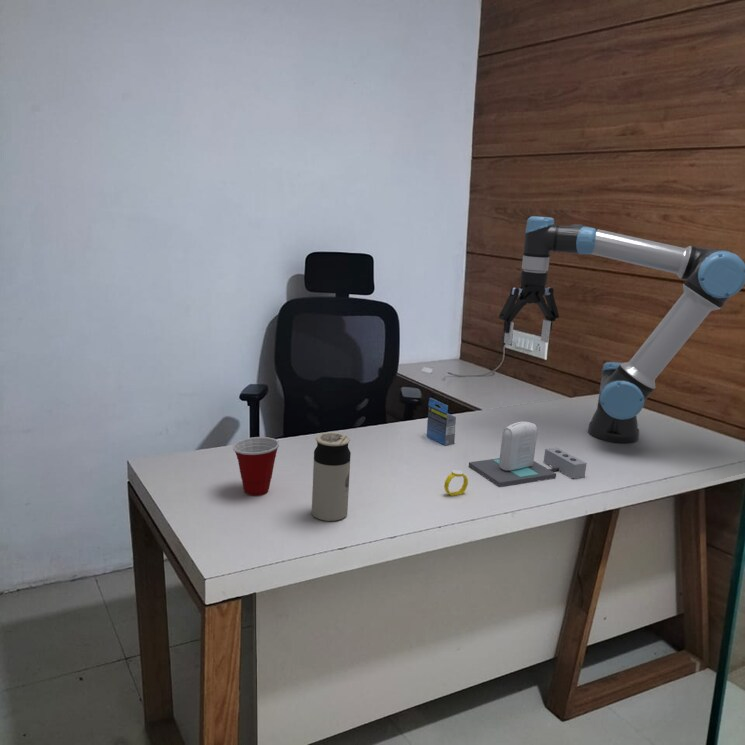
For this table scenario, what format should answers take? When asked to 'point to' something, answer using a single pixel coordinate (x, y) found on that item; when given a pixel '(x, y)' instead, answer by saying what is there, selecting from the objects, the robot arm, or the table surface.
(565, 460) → the power strip
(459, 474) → the watch
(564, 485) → the table surface
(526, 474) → the pad
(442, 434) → the label tape box
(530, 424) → the photo printer
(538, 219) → the robot arm
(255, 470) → the plastic cup
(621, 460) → the table surface
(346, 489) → the travel mug
